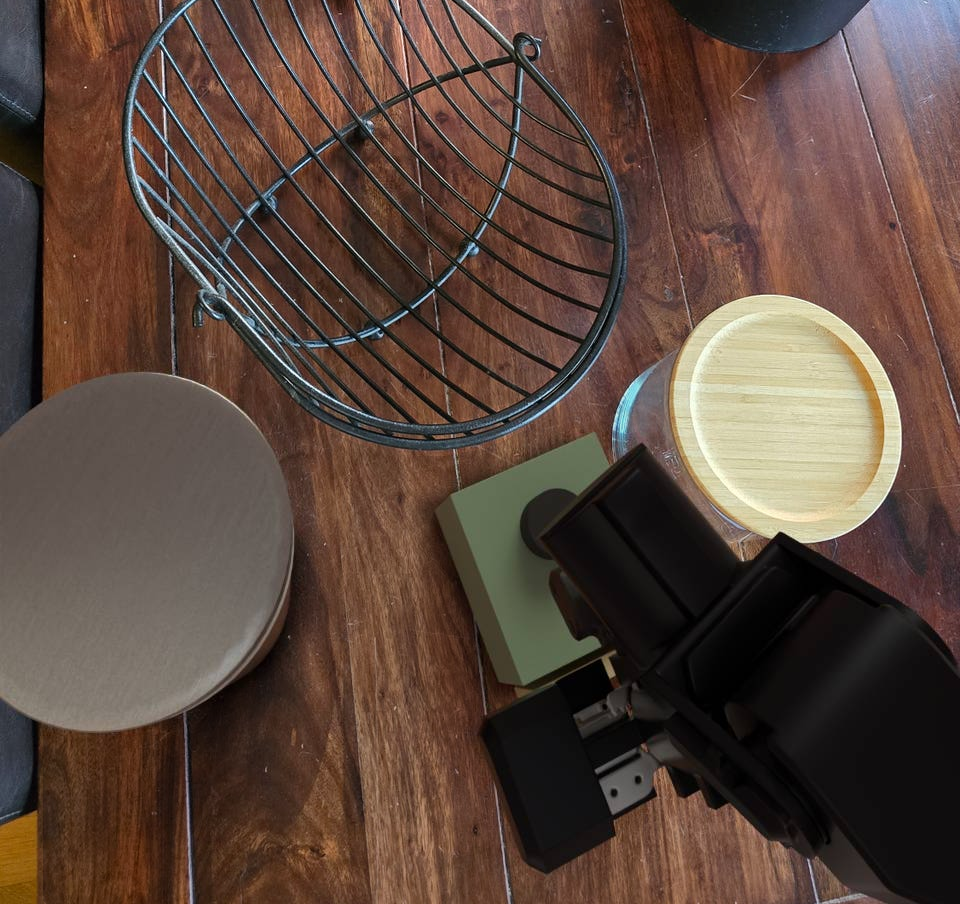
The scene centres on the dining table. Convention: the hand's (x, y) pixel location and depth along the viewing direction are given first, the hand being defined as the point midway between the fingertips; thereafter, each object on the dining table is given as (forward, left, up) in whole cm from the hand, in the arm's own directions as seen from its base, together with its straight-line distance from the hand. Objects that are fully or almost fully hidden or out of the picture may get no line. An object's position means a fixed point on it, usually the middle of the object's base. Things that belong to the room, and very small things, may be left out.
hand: (638, 695), depth 60 cm
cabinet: (+8, 0, -12) cm, 14 cm away
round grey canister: (+14, +20, -12) cm, 27 cm away
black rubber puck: (+9, 0, -4) cm, 10 cm away
